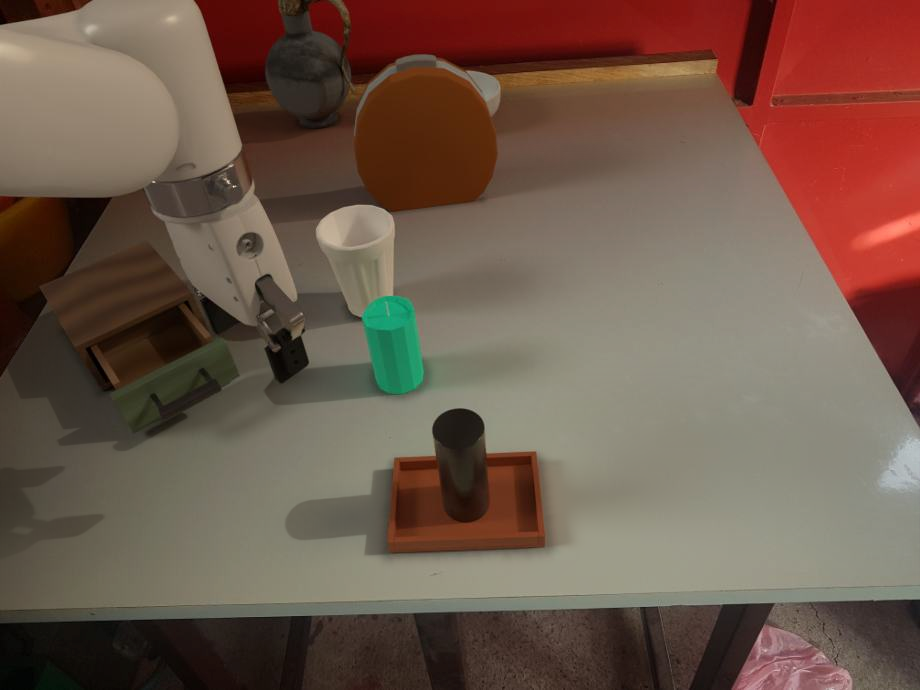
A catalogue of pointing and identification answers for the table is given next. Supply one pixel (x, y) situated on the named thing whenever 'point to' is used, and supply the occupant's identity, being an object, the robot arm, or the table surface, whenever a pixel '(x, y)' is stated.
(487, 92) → the cereal bowl
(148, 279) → the cabinet
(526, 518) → the tray
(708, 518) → the table surface
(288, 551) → the table surface
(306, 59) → the pitcher
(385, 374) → the candle
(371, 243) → the cup
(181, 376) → the drawer
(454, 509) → the cylinder
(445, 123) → the alarm clock
